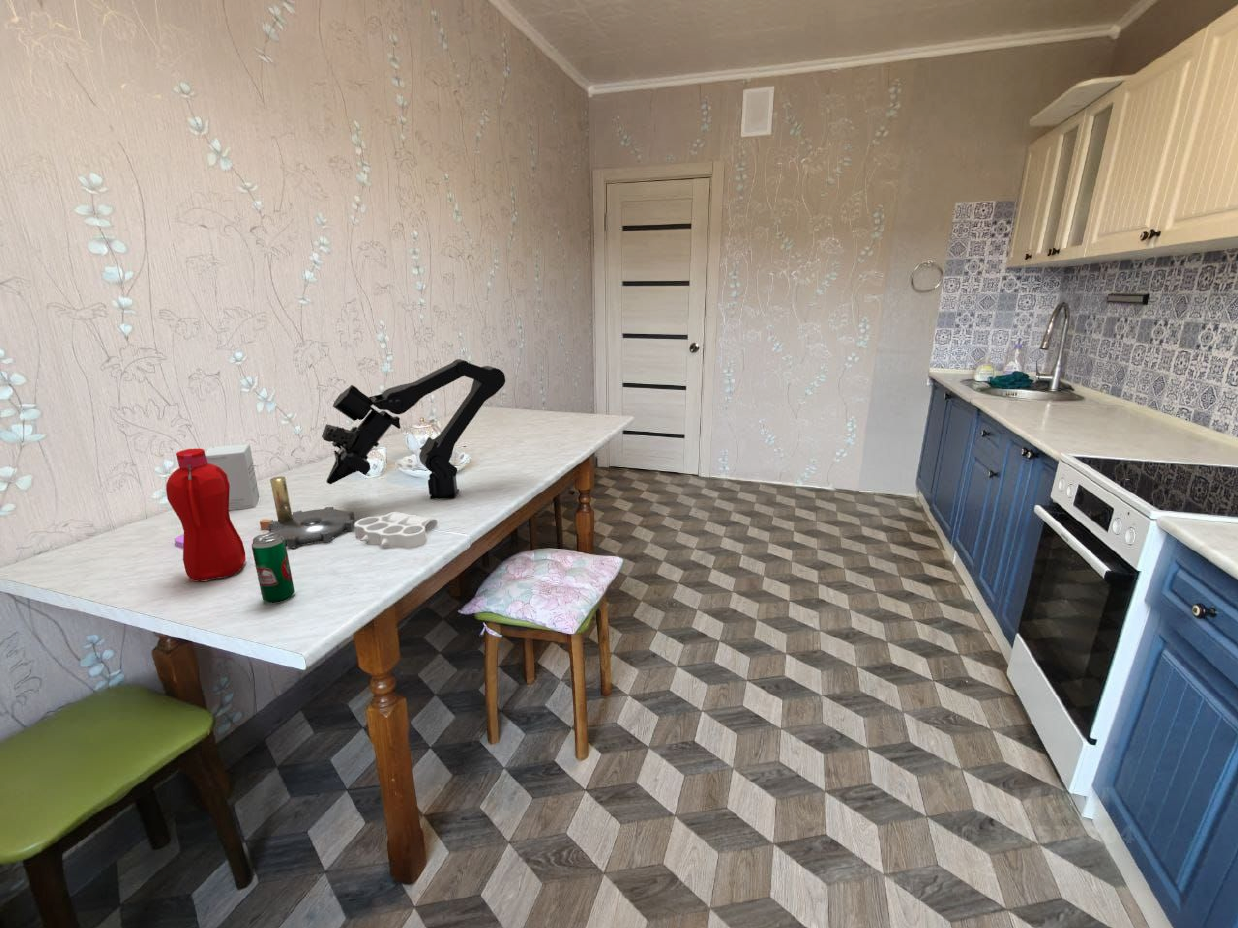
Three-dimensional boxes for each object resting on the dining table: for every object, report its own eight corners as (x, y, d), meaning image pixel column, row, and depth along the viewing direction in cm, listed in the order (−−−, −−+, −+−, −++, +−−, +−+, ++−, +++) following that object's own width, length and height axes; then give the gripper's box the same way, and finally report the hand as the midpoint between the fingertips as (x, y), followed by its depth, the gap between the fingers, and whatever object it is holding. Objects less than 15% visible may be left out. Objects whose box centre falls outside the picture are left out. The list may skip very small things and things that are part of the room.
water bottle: (181, 591, 105) (147, 462, 98) (196, 565, 115) (166, 446, 107) (239, 581, 109) (211, 456, 101) (249, 557, 118) (224, 441, 111)
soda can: (256, 601, 102) (243, 540, 98) (281, 588, 106) (269, 529, 103) (277, 607, 100) (264, 544, 96) (301, 593, 104) (290, 533, 101)
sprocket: (337, 508, 143) (330, 463, 140) (370, 529, 131) (363, 480, 128) (254, 530, 130) (244, 481, 127) (282, 555, 118) (271, 501, 115)
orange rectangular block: (274, 527, 133) (272, 520, 132) (270, 529, 132) (269, 522, 131) (265, 527, 133) (263, 519, 132) (261, 529, 132) (259, 521, 131)
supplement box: (213, 513, 142) (200, 455, 137) (220, 501, 149) (208, 446, 145) (255, 507, 145) (244, 451, 141) (260, 496, 153) (249, 442, 148)
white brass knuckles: (449, 530, 132) (404, 557, 119) (389, 519, 139) (340, 543, 126) (447, 517, 131) (402, 542, 118) (387, 506, 138) (338, 529, 125)
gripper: (335, 405, 142) (293, 455, 140) (346, 419, 127) (300, 475, 125) (373, 431, 148) (334, 479, 146) (388, 447, 133) (345, 501, 131)
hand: (328, 483), depth 137 cm, fingers closed
